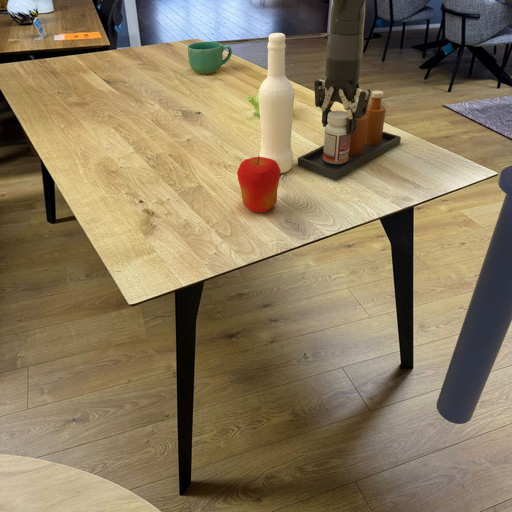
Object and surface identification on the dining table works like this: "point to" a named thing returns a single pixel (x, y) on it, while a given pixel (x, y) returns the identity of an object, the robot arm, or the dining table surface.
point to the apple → (259, 183)
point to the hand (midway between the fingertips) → (338, 129)
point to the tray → (337, 171)
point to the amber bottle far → (375, 119)
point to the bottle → (276, 107)
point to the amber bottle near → (358, 136)
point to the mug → (207, 56)
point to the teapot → (255, 102)
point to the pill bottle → (336, 138)
